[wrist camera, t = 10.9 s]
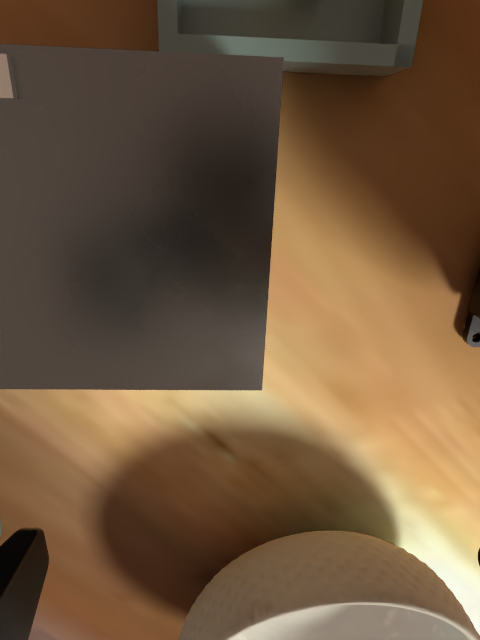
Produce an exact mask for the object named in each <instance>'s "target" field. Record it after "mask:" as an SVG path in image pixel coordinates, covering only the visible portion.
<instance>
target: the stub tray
mask: <svg viewBox="0 0 480 640" xmlns="http://www.w3.org/2000/svg"><path fill="white" fill-rule="evenodd" d="M422 5H423V0H157V13H158V39H159V51H162V52H183V53H204V54H225V55H246V56H266V57H284V61H283V72H302V73H324V74H346V75H367V76H388V75H391V74H394V73H397V72H399V71H402V70H405V69H408V68H411V67H412V63H413V57H414V51H415V45H416V40H417V34H418V28H419V22H420V17H421V11H422Z"/></svg>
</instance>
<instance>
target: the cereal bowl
mask: <svg viewBox="0 0 480 640" xmlns="http://www.w3.org/2000/svg"><path fill="white" fill-rule="evenodd" d="M179 640H480V635H479V634H478V633H477V631H476V629H475V628H474V626H473V624H472V622H471V620H470V618H469V617H468V615H467V614H466V613H465V611H464V609H463V607H462V605H461V604H460V603H459V601H458V600H457V599H456V597H455V596H454V594H453V593H452V591H451V590H450V589H449V588H448V587H447V586H446V584H445V583H444V581H443V580H442V579H440V578H439V577H438V576H437V575H436V573H435V572H434V571H433V570H432V569H430V568H429V567H428V566H427V565H426V564H425V563H423V562H421V561H420V560H419V559H418V558H416V557H415V556H414V555H413V554H410V553H408V552H407V551H405V550H404V549H403V548H400V547H397V546H395V545H394V544H392V543H388V542H386V541H384V540H382V539H379V538H374V537H372V536H370V535H365V534H359V533H356V532H346V531H340V530H337V531H330V530H326V531H312V532H304V533H297V534H294V535H289V536H285V537H281V538H279V539H275V540H272V541H269V542H266V543H265V544H263V545H260V546H258V547H256V548H253V549H252V550H250V551H248V552H246V553H245V554H242V555H240V556H239V557H238V558H237V559H235V560H232V561H231V563H229V564H228V565H227V566H226V567H224V568H222V569H221V571H220V572H219V573H218V574H216V575H215V576H214V577H213V579H212V580H211V582H209V583H208V584H207V585H206V586H205V588H204V589H203V591H202V592H201V594H200V595H199V596H198V597H197V599H196V601H195V603H194V604H193V605H192V606H191V609H190V611H189V614H188V615H187V617H186V619H185V622H184V625H183V628H182V630H181V634H180V637H179Z"/></svg>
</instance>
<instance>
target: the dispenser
mask: <svg viewBox="0 0 480 640" xmlns="http://www.w3.org/2000/svg"><path fill="white" fill-rule="evenodd" d="M283 61H284V57H266V56H246V55H225V54H204V53H183V52H162V51H141V50H120V49H99V48H79V47H58V46H37V45H16V44H0V389H103V390H262V380H263V365H264V350H265V335H266V319H267V304H268V289H269V274H270V259H271V243H272V228H273V213H274V198H275V183H276V167H277V152H278V137H279V122H280V106H281V91H282V76H283Z"/></svg>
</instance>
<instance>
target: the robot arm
mask: <svg viewBox="0 0 480 640" xmlns="http://www.w3.org/2000/svg"><path fill="white" fill-rule="evenodd" d="M476 333H478V335H477V336H476V337H475V338H473V339H472V337H473V335H474V334H476ZM463 340H464V341H465V342H466V343H467V344H469V345H470V346H472V347H480V269H479V272H478V276H477V279H476V283H475V287H474V290H473V294H472V297H471V301H470V305H469V313H468V317H467V320H466V324H465V327H464V331H463ZM478 561H479V565H480V548H479V551H478ZM48 564H49V554H48V550H47V545H46V540H45V535H44V532H43V530H42V529H41V528H21V529H19V530H18V531H16V532H15V533H14V534H13V535H12V536H11V537H10V538H9V539H8V540H6V541H5V542H4V543H3V544H2V545H1V546H0V640H28V638H29V634H30V631H31V627H32V624H33V620H34V616H35V613H36V609H37V606H38V602H39V598H40V595H41V591H42V587H43V584H44V580H45V577H46V573H47V569H48Z"/></svg>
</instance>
